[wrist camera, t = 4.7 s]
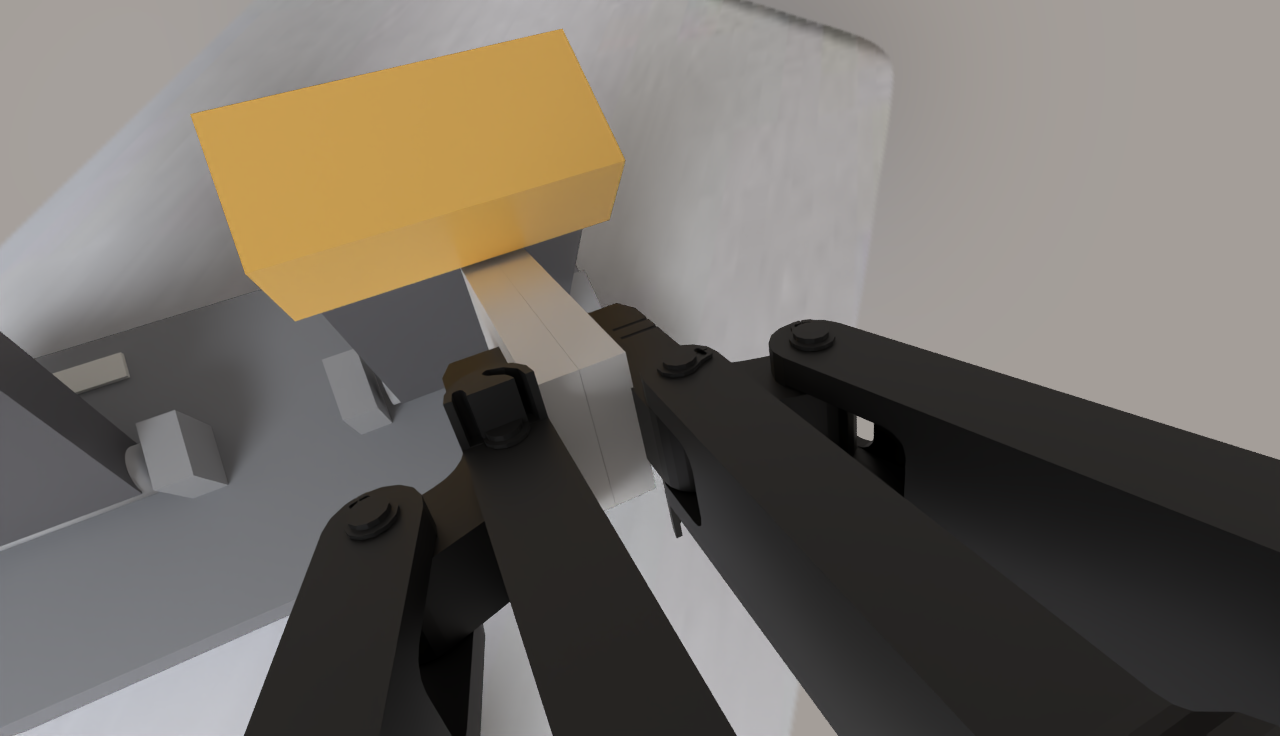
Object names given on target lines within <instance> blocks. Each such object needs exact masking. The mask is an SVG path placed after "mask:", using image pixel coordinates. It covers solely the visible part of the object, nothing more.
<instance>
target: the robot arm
mask: <svg viewBox="0 0 1280 736" xmlns="http://www.w3.org/2000/svg"><path fill="white" fill-rule="evenodd" d="M460 269H461V272H462V274H463V277H464V280H465V283H466V286H467V289H468V292H469V294H470V297H471V300H472V303H473V306H474V309H475V312H476V314H477V317H478V320H479V323H480V326H481V329H482V332H483V334H484V337H485V340H486V343H487V346H488V349H489V350H487V351H484V352H481V353H479V354H476V355H473V356H470V357H467V358H464V359H461V360H459V361H456V362H453V363H450V364H449V365H448V367H447V369H446V372H445V374H444V376H443V378H442V380H443V383H444V386H445V390H446V393H445V394H444V398H443V406H444V409H445V411H446V413H447V416H448V418H449V421H450V423H451V426H452V428H453V430H454V433H455V435H456V438H457V440H458V442H459V445H460V447H461V450H462V452H463V455H462V458H461V461H460V462H459V464H458V465H457V467H456V468H455V470H454V471H453V472H452V473H451V474H450V475H449V476H448V477H447V478H446V479H444V480H443V481H442V482H440V483H439V484H437V485H436V486H435V487H433V488H432V489H430V490H429V491H427V492H425V493H424V494H422V495H421V494H420V493H419V492H418V491H417V490H416V489H415V488H414V487H410V486H404V485H392V486H385V487H380V488H378V489H375V490H372V491H369V492H366V493H364V494H362V495H360V496H358V497H357V498H354V499H353V500H351V501H350V502H348V503H347V504H345V505H344V506H343V507H342V508H341V509H340V510H339V511H338V512H337V513H336V514H334V515H333V516H332V517H331V518H330V520H329V521H328V523H327V524H326V526H325V528H324V529H323V531H322V533H321V535H320V538H319V540H318V543H317V546H316V548H315V551H314V553H313V556H312V559H311V561H310V564H309V567H308V569H307V572H306V574H305V577H304V580H303V582H302V585H301V587H300V590H299V593H298V595H297V598H296V601H295V603H294V606H293V608H292V611H291V614H290V616H289V619H288V622H287V624H286V627H285V629H284V632H283V635H282V637H281V640H280V643H279V645H278V648H277V650H276V653H275V656H274V658H273V661H272V663H271V666H270V669H269V671H268V674H267V677H266V679H265V682H264V684H263V687H262V690H261V692H260V695H259V698H258V700H257V703H256V705H255V708H254V711H253V713H252V716H251V718H250V721H249V724H248V726H247V729H246V732H245V734H244V736H480V731H481V710H482V690H483V670H484V649H485V632H484V627H483V623H484V622H485V621H486V620H488V619H489V618H490V617H491V616H493V615H494V614H495V613H496V612H498V611H499V610H500V609H501V608H503V607H504V606H505V605H506V604H508V603H509V602H510V603H511V606H512V609H513V612H514V615H515V619H516V622H517V625H518V628H519V631H520V634H521V637H522V641H523V644H524V647H525V650H526V653H527V656H528V659H529V662H530V666H531V669H532V672H533V675H534V678H535V681H536V684H537V688H538V691H539V694H540V697H541V700H542V703H543V706H544V710H545V713H546V716H547V719H548V722H549V725H550V728H551V731H552V735H553V736H737V735H736V734H735V732H734V730H733V728H732V727H731V725H730V723H729V722H728V720H727V718H726V717H725V715H724V713H723V712H722V710H721V708H720V707H719V705H718V703H717V701H716V700H715V698H714V696H713V695H712V693H711V691H710V690H709V688H708V686H707V685H706V683H705V681H704V680H703V678H702V676H701V674H700V673H699V671H698V669H697V668H696V666H695V664H694V663H693V661H692V659H691V658H690V656H689V654H688V652H687V651H686V649H685V647H684V646H683V644H682V642H681V641H680V639H679V637H678V636H677V634H676V632H675V631H674V629H673V627H672V625H671V624H670V622H669V620H668V619H667V617H666V615H665V614H664V612H663V610H662V609H661V607H660V605H659V603H658V602H657V600H656V598H655V597H654V595H653V593H652V592H651V590H650V588H649V587H648V585H647V583H646V582H645V580H644V578H643V576H642V575H641V573H640V571H639V570H638V568H637V566H636V565H635V563H634V561H633V560H632V558H631V556H630V555H629V553H628V551H627V549H626V548H625V546H624V544H623V543H622V541H621V539H620V538H619V536H618V534H617V533H616V531H615V529H614V527H613V526H612V524H611V522H610V521H609V519H608V517H607V516H606V514H605V512H604V511H605V510H607V509H610V508H612V507H614V506H617V505H619V504H621V503H623V502H626V501H628V500H630V499H632V498H635V497H637V496H639V495H641V494H644V493H646V492H648V491H650V490H653V489H655V488H656V486H655V481H654V477H653V472H652V468H651V465H652V466H653V467H654V468H655V470H656V471H657V472H658V474H659V475H660V476H661V478H662V479H663V484H664V488H665V493H666V498H667V502H668V507H669V512H670V516H671V521H672V525H673V529H674V532H675V535H676V538H678V537H681V536H683V535H682V530H681V526H680V523H681V521H682V523H683V524H684V525H685V527H686V528H687V530H688V531H689V532H690V534H691V535H692V536H693V538H694V539H695V540H696V542H697V543H698V545H699V546H700V547H701V549H702V550H703V551H704V553H705V554H706V555H707V557H708V558H709V560H710V561H711V562H712V564H713V565H714V566H715V568H716V569H717V571H718V572H719V573H720V575H721V576H722V577H723V579H724V580H725V581H726V583H727V584H728V586H729V587H730V588H731V590H732V591H733V592H734V594H735V595H736V597H737V598H738V599H739V601H740V602H741V603H742V605H743V606H744V607H745V609H746V610H747V612H748V613H749V614H750V616H751V617H752V618H753V620H754V621H755V622H756V624H757V625H758V627H759V628H760V629H761V631H762V632H763V633H764V635H765V636H766V638H767V639H768V640H769V642H770V643H771V644H772V646H773V647H774V648H775V650H776V651H777V653H778V654H779V655H780V657H781V658H782V659H783V661H784V662H785V664H786V665H787V666H788V668H789V669H790V670H791V672H792V673H793V674H794V676H795V677H796V679H797V680H798V681H799V683H800V684H801V685H802V687H803V688H804V689H805V691H806V692H807V693H808V695H809V696H810V698H811V699H812V700H813V702H814V703H815V704H816V706H817V707H818V709H819V710H820V711H821V713H822V714H823V715H824V717H825V718H826V720H827V721H828V722H829V724H830V725H831V726H832V728H833V729H834V730H835V732H836V733H837V735H838V736H1280V460H1278V459H1275V458H1272V457H1268V456H1265V455H1262V454H1259V453H1256V452H1252V451H1249V450H1245V449H1242V448H1239V447H1236V446H1233V445H1230V444H1227V443H1223V442H1220V441H1217V440H1214V439H1210V438H1207V437H1204V436H1201V435H1197V434H1194V433H1191V432H1188V431H1185V430H1182V429H1178V428H1175V427H1172V426H1169V425H1165V424H1162V423H1159V422H1156V421H1153V420H1149V419H1146V418H1143V417H1140V416H1136V415H1133V414H1130V413H1127V412H1124V411H1120V410H1117V409H1114V408H1111V407H1108V406H1104V405H1101V404H1098V403H1095V402H1092V401H1088V400H1085V399H1082V398H1079V397H1075V396H1072V395H1069V394H1065V393H1062V392H1059V391H1056V390H1053V389H1049V388H1047V387H1043V386H1040V385H1037V384H1033V383H1030V382H1027V381H1024V380H1021V379H1018V378H1014V377H1011V376H1008V375H1005V374H1001V373H998V372H995V371H992V370H988V369H985V368H982V367H979V366H976V365H972V364H969V363H966V362H962V361H959V360H956V359H953V358H950V357H947V356H943V355H940V354H937V353H933V352H931V351H927V350H924V349H920V348H918V347H915V346H911V345H908V344H905V343H902V342H898V341H895V340H892V339H889V338H886V337H883V336H879V335H876V334H873V333H870V332H866V331H863V330H860V329H857V328H854V327H850V326H847V325H844V324H841V323H837V322H832V321H826V320H811V319H808V320H801V322H800V321H797V322H793V323H791V324H789V325H787V326H784V327H782V328H779V329H778V330H777V331H776V332H775V333H774V334H772V335H771V338H770V341H769V353H770V356H767V357H761V358H756V359H751V360H746V361H739V362H732V363H731V362H730V361H729V360H727V359H726V358H725V357H723V356H722V355H721V354H720V353H718V352H717V351H715V350H713V349H711V348H709V347H707V346H700V345H679V344H678V343H676V342H675V341H674V340H673V339H672V338H670V337H669V336H668V335H667V334H666V333H664V332H663V331H662V330H661V329H660V328H658V327H656V326H655V324H654V323H653V322H651V321H650V320H649V319H647V318H646V317H645V316H644V315H643V314H642V313H641V312H639V311H638V310H637V309H636V308H633V307H629V306H626V305H622V304H618V303H615V304H612V305H610V306H607V307H604V308H601V309H598V310H595V311H593V312H590V313H587V312H586V311H585V310H584V309H583V308H582V307H581V306H580V305H579V304H578V303H577V302H576V301H575V300H574V299H573V298H572V297H571V296H570V295H569V294H568V293H567V292H566V291H565V290H564V289H563V288H562V287H561V286H560V285H559V284H558V283H557V282H556V281H555V280H554V279H553V278H552V277H551V276H550V275H549V274H548V273H547V272H546V271H545V270H544V269H543V268H542V266H541V265H540V264H539V263H538V262H537V261H536V260H535V259H534V258H533V257H532V256H531V255H530V254H529V253H528V252H527V251H526V250H525V249H524V248H521V249H518V250H515V251H512V252H509V253H505V254H502V255H499V256H496V257H493V258H490V259H487V260H484V261H481V262H478V263H475V264H471V265H468V266H465V267H462V268H460ZM856 416H859V417H861V418H863V419H866V420H868V421H871V422H873V423H874V439H873V441H869V440H865V439H862V438H860V437H858V436H857V419H856V418H857V417H856Z"/></svg>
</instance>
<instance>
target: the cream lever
mask: <svg viewBox="0 0 1280 736" xmlns="http://www.w3.org/2000/svg"><path fill="white" fill-rule="evenodd" d="M158 492H159V491H154V490H153V487H152V483H151V479H150V475H149V472H148V468H147V464H146V461H145V457H144V453H143V449H142V446H141V443H139V444H137V443H136V442H135V441H133V440H132V439H131V438H130V437H128V436H127V435H126V434H125V433H124V432H122V431H121V430H120V429H119V428H117V427H116V426H115V425H114V424H113V423H111V422H110V421H109V420H108V419H106V418H105V417H104V416H103V415H102V414H100V413H99V412H98V411H97V410H96V409H94V408H93V407H92V406H91V405H89V404H88V403H87V402H86V401H85V400H83V399H82V398H81V397H80V396H78V395H77V394H76V393H75V392H74V391H72V390H71V389H70V388H69V387H67V386H66V385H65V384H64V383H63V382H61V381H60V380H59V379H58V378H56V377H55V376H54V375H53V374H52V373H50V372H49V371H48V370H47V369H46V368H44V367H43V366H42V365H41V364H39V363H38V362H37V361H36V360H35V359H33V358H32V357H31V356H30V355H28V354H27V353H26V352H25V351H24V350H22V349H21V348H20V347H19V346H17V345H16V344H15V343H14V342H13V341H11V340H10V339H9V338H8V337H7V336H5V335H4V334H3V333H2V332H0V551H3V550H5V549H8V548H11V547H13V546H16V545H19V544H21V543H24V542H27V541H29V540H32V539H35V538H37V537H40V536H43V535H46V534H48V533H51V532H54V531H56V530H59V529H62V528H64V527H67V526H70V525H72V524H75V523H78V522H80V521H83V520H86V519H89V518H91V517H94V516H97V515H99V514H102V513H105V512H107V511H110V510H113V509H115V508H118V507H121V506H124V505H126V504H129V503H132V502H134V501H137V500H140V499H142V498H145V497H148V496H150V495H153V494H156V493H158Z"/></svg>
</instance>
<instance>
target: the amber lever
mask: <svg viewBox="0 0 1280 736" xmlns="http://www.w3.org/2000/svg"><path fill="white" fill-rule="evenodd" d="M190 115H191V118H192V121H193V123H194V126H195V129H196V132H197V135H198V138H199V141H200V144H201V147H202V150H203V153H204V155H205V158H206V161H207V164H208V167H209V170H210V173H211V176H212V179H213V182H214V185H215V187H216V190H217V193H218V196H219V199H220V202H221V205H222V208H223V211H224V214H225V216H226V219H227V222H228V225H229V228H230V231H231V234H232V237H233V240H234V243H235V246H236V248H237V251H238V254H239V257H240V260H241V263H242V266H243V269H244V272H245V274H246V275H247V276H248V277H249V278H250V279H251V280H252V281H253V282H254V283H255V284H256V285H257V286H259V287H260V288H261V289H262V290H263V291H264V292H265V293H266V294H267V295H268V296H269V297H270V298H271V299H272V300H273V301H274V302H275V303H276V304H277V305H278V306H279V307H281V308H282V309H283V310H284V311H285V312H286V313H287V314H288V315H289V316H290V317H291V318H292V319H293V320H294V321H298V320H301V319H304V318H307V317H311V316H314V315H317V314H320V313H322V315H323V316H324V317H325V318H326V319H327V320H328V321H329V322H330V324H331V325H332V326H333V327H334V328H335V329H336V330H337V331H338V332H339V334H340V335H341V336H342V337H343V338H344V339H345V340H346V341H347V343H348V344H349V345H350V346H351V347H352V348H353V349H354V350H355V351H356V353H357V354H358V355H359V356H360V357H361V358H362V359H363V360H364V362H365V363H366V364H367V365H368V366H369V367H370V368H371V369H372V371H373V372H374V373H375V374H376V375H377V376H378V377H379V378H380V379H381V381H382V383H383V385H384V388H385V390H386V392H387V394H388V396H389V398H390V400H391V402H392V403H393V404H394V405H395V404H398V403H402V404H403V403H406V402H408V401H411V400H414V399H416V398H419V397H422V396H424V395H427V394H430V393H432V392H435V391H438V390H441V389H443V388H445V386H444V383H443V380H442V378H443V376H444V374H445V372H446V369H447V367H448V365H449V364H450V363H453V362H456V361H459V360H461V359H464V358H467V357H470V356H473V355H476V354H479V353H481V352H484V351H487V350H489V349H488V346H487V343H486V340H485V337H484V334H483V332H482V329H481V326H480V323H479V320H478V317H477V314H476V312H475V309H474V306H473V303H472V300H471V297H470V294H469V292H468V289H467V286H466V283H465V280H464V277H463V274H462V272H461V269H460V268H462V267H465V266H468V265H471V264H475V263H478V262H481V261H484V260H487V259H490V258H493V257H496V256H499V255H502V254H505V253H509V252H512V251H515V250H518V249H521V248H524V249H525V250H526V251H527V252H528V253H529V254H530V255H531V256H532V257H533V258H534V259H535V260H536V261H537V262H538V263H539V264H540V265H541V266H542V268H543V269H544V270H545V271H546V272H547V273H548V274H549V275H550V276H551V277H552V278H553V279H554V280H555V281H556V282H557V283H558V284H559V285H560V286H561V287H562V288H563V289H564V290H565V291H566V292H567V293H568V294H569V295H570V291H571V286H572V280H573V275H574V270H575V264H576V259H577V254H578V249H579V243H580V238H581V233H582V229H583V228H586V227H589V226H592V225H595V224H598V223H601V222H604V221H608V220H610V216H611V212H612V209H613V205H614V201H615V197H616V194H617V190H618V186H619V183H620V179H621V175H622V171H623V168H624V164H625V159H624V156H623V154H622V152H621V150H620V148H619V146H618V144H617V142H616V140H615V138H614V136H613V133H612V131H611V129H610V127H609V125H608V123H607V121H606V119H605V117H604V115H603V113H602V110H601V108H600V106H599V104H598V102H597V100H596V98H595V96H594V94H593V92H592V90H591V88H590V85H589V83H588V81H587V79H586V77H585V75H584V73H583V71H582V69H581V67H580V65H579V62H578V60H577V58H576V56H575V54H574V52H573V50H572V48H571V46H570V44H569V42H568V39H567V37H566V35H565V33H564V31H563V29H559V30H555V31H550V32H546V33H541V34H537V35H533V36H528V37H524V38H520V39H515V40H511V41H507V42H502V43H498V44H494V45H489V46H485V47H480V48H476V49H472V50H467V51H463V52H459V53H454V54H450V55H446V56H441V57H437V58H433V59H428V60H424V61H420V62H415V63H411V64H406V65H402V66H398V67H393V68H389V69H385V70H380V71H376V72H372V73H367V74H363V75H359V76H354V77H350V78H345V79H341V80H337V81H332V82H328V83H324V84H319V85H315V86H311V87H306V88H302V89H298V90H293V91H289V92H284V93H280V94H276V95H271V96H267V97H263V98H258V99H254V100H250V101H245V102H241V103H237V104H232V105H228V106H224V107H219V108H215V109H210V110H206V111H202V112H197V113H193V114H190Z"/></svg>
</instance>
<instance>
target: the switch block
mask: <svg viewBox="0 0 1280 736" xmlns="http://www.w3.org/2000/svg"><path fill="white" fill-rule="evenodd" d="M570 296H571V297H572V298H573V299H574V300H575V301H576V302H577V303H578V304H579V305H580V306H581V307H582V308H583V309H584V310H585V311H586V312H587V313H590V312H593V311H595V310H598V309H601V308H602V307H601V305H600V303H599V300H598V298H597V296H596V294H595V292H594V290H593V287H592V285H591V283H590V281H589V279H588V277H587V275H586V272H585V270H582V271H578V269H577V267H576V264H575V270H574V275H573V280H572V286H571V291H570ZM35 360H36V361H37V362H38V363H39V364H41V365H42V366H43V367H44V368H46V369H47V370H48V371H49V372H50V373H52V374H53V375H54V376H55V377H56V378H58V379H59V380H60V381H61V382H63V383H64V384H65V385H66V386H67V387H69V388H70V389H71V390H72V391H74V392H75V393H76V394H77V395H78V396H80V397H81V398H82V399H83V400H85V401H86V402H87V403H88V404H89V405H91V406H92V407H93V408H94V409H96V410H97V411H98V412H99V413H100V414H102V415H103V416H104V417H105V418H106V419H108V420H109V421H110V422H111V423H113V424H114V425H115V426H116V427H117V428H119V429H120V430H121V431H122V432H124V433H125V434H126V435H127V436H128V437H130V438H131V439H132V440H133V441H135V442H136V443H137V444H139V443H141V446H142V449H143V453H144V457H145V461H146V464H147V468H148V472H149V475H150V479H151V483H152V487H153V490H154V491H159V492H158V493H156V494H153V495H150V496H148V497H145V498H142V499H140V500H137V501H134V502H132V503H129V504H126V505H124V506H121V507H118V508H115V509H113V510H110V511H107V512H105V513H102V514H99V515H97V516H94V517H91V518H89V519H86V520H83V521H80V522H78V523H75V524H72V525H70V526H67V527H64V528H62V529H59V530H56V531H54V532H51V533H48V534H46V535H43V536H40V537H37V538H35V539H32V540H29V541H27V542H24V543H21V544H19V545H16V546H13V547H11V548H8V549H5V550H3V551H0V736H12V735H16V734H19V733H22V732H25V731H27V730H30V729H32V728H34V727H37V726H39V725H41V724H43V723H46V722H48V721H50V720H52V719H55V718H57V717H59V716H61V715H64V714H66V713H68V712H71V711H73V710H75V709H77V708H80V707H82V706H84V705H86V704H89V703H91V702H93V701H95V700H98V699H100V698H102V697H105V696H107V695H109V694H111V693H114V692H116V691H118V690H120V689H123V688H125V687H127V686H129V685H132V684H134V683H136V682H139V681H141V680H143V679H145V678H148V677H150V676H152V675H154V674H157V673H159V672H161V671H164V670H166V669H168V668H170V667H173V666H175V665H177V664H179V663H182V662H184V661H186V660H188V659H191V658H193V657H195V656H198V655H200V654H202V653H204V652H207V651H209V650H211V649H213V648H216V647H218V646H220V645H222V644H225V643H227V642H229V641H232V640H234V639H236V638H238V637H241V636H243V635H245V634H247V633H250V632H252V631H254V630H256V629H259V628H261V627H263V626H266V625H268V624H270V623H272V622H275V621H277V620H279V619H281V618H284V617H286V616H288V615H290V614H291V611H292V608H293V606H294V603H295V601H296V598H297V595H298V593H299V590H300V587H301V585H302V582H303V580H304V577H305V574H306V572H307V569H308V567H309V564H310V561H311V559H312V556H313V553H314V551H315V548H316V546H317V543H318V540H319V538H320V535H321V533H322V531H323V529H324V528H325V526H326V524H327V523H328V521H329V520H330V518H331V517H332V516H333V515H334V514H336V513H337V512H338V511H339V510H340V509H341V508H342V507H343V506H344V505H345V504H347V503H348V502H350V501H351V500H353V499H354V498H357V497H358V496H360V495H362V494H364V493H366V492H369V491H372V490H375V489H378V488H380V487H385V486H392V485H404V486H410V487H414V488H415V489H416V490H417V491H418V492H419V493H420V494H421V495H422V494H424V493H425V492H427V491H429V490H430V489H432V488H433V487H435V486H436V485H437V484H439V483H440V482H442V481H443V480H444V479H446V478H447V477H448V476H449V475H450V474H451V473H452V472H453V471H454V470H455V468H456V467H457V465H458V464H459V462H460V461H461V458H462V455H463V452H462V450H461V447H460V445H459V442H458V440H457V438H456V435H455V433H454V430H453V428H452V426H451V423H450V421H449V418H448V416H447V413H446V411H445V409H444V406H443V398H444V394H445V393H446V390H445V388H443V389H441V390H438V391H435V392H432V393H430V394H427V395H424V396H422V397H419V398H416V399H414V400H411V401H408V402H406V403H403V404H402V403H398V404H395V405H394V404H393V403H392V402H391V400H390V398H389V396H388V394H387V392H386V390H385V388H384V385H383V383H382V381H381V379H380V378H379V377H378V376H377V375H376V374H375V373H374V372H373V371H372V369H371V368H370V367H369V366H368V365H367V364H366V363H365V362H364V360H363V359H362V358H361V357H360V356H359V355H358V354H357V353H356V351H355V350H354V349H353V348H352V347H351V346H350V345H349V344H348V343H347V341H346V340H345V339H344V338H343V337H342V336H341V335H340V334H339V332H338V331H337V330H336V329H335V328H334V327H333V326H332V325H331V324H330V322H329V321H328V320H327V319H326V318H325V317H324V316H323V315H322V313H320V314H317V315H314V316H311V317H307V318H304V319H301V320H298V321H294V320H293V319H292V318H291V317H290V316H289V315H288V314H287V313H286V312H285V311H284V310H283V309H282V308H281V307H279V306H278V305H277V304H276V303H275V302H274V301H273V300H272V299H271V298H270V297H269V296H268V295H267V294H266V293H265V292H264V291H263V290H262V289H261V290H258V291H254V292H251V293H248V294H245V295H241V296H238V297H235V298H232V299H228V300H225V301H222V302H218V303H215V304H212V305H209V306H205V307H202V308H199V309H196V310H192V311H189V312H186V313H183V314H179V315H176V316H173V317H169V318H166V319H163V320H160V321H156V322H153V323H150V324H147V325H143V326H140V327H137V328H134V329H130V330H127V331H124V332H120V333H117V334H114V335H111V336H107V337H104V338H101V339H98V340H94V341H91V342H88V343H85V344H81V345H78V346H75V347H71V348H68V349H65V350H62V351H58V352H55V353H52V354H49V355H45V356H42V357H39V358H35Z"/></svg>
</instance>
